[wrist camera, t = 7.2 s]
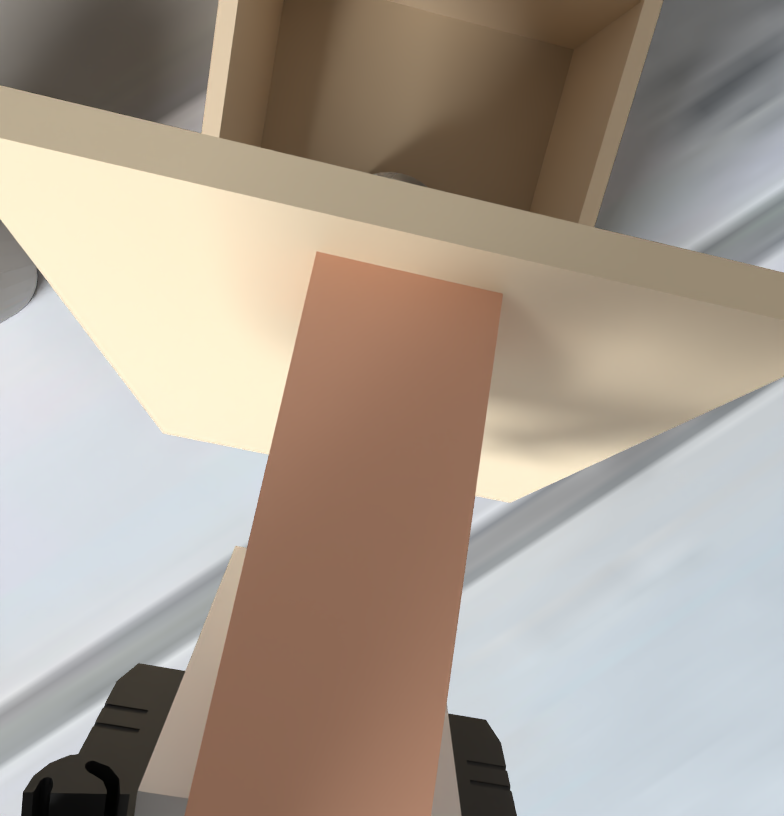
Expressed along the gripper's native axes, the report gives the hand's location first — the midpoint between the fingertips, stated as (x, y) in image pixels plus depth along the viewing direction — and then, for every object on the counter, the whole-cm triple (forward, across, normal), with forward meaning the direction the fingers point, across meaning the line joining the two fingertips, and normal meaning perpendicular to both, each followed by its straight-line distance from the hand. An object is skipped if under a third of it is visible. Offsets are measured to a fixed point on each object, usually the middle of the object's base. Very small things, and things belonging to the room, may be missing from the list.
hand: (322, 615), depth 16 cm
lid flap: (+4, 0, +5) cm, 6 cm away
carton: (+20, 0, +9) cm, 22 cm away
